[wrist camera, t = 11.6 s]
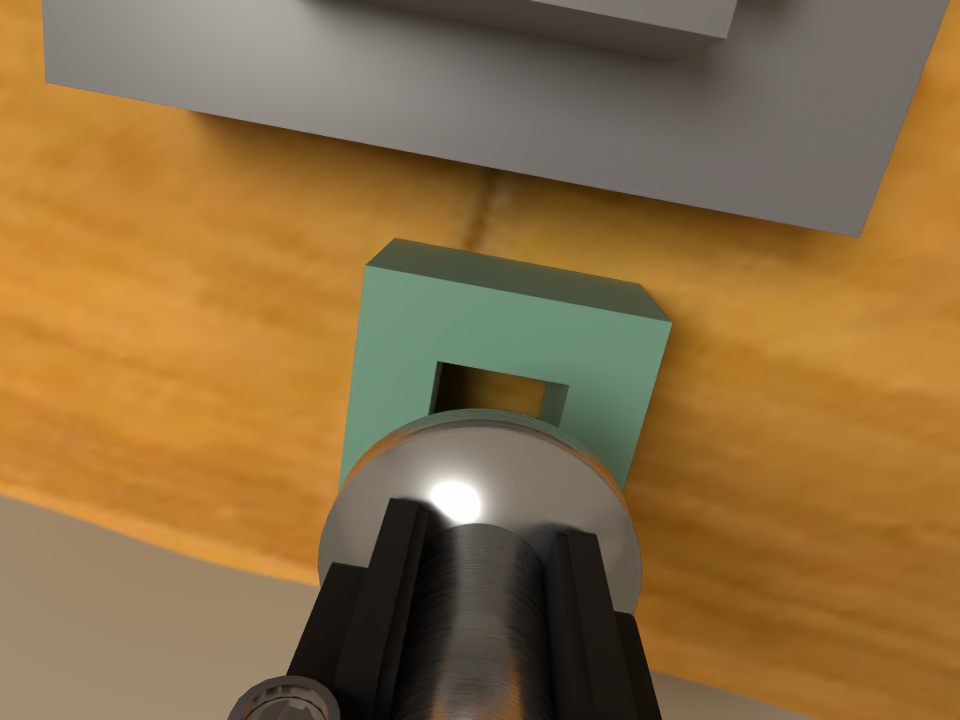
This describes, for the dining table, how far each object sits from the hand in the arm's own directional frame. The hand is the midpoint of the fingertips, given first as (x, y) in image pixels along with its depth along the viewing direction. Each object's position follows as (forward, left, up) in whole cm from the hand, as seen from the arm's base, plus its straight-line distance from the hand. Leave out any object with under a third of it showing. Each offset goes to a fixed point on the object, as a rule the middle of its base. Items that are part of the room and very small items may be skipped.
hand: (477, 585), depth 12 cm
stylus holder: (0, 0, -11) cm, 11 cm away
